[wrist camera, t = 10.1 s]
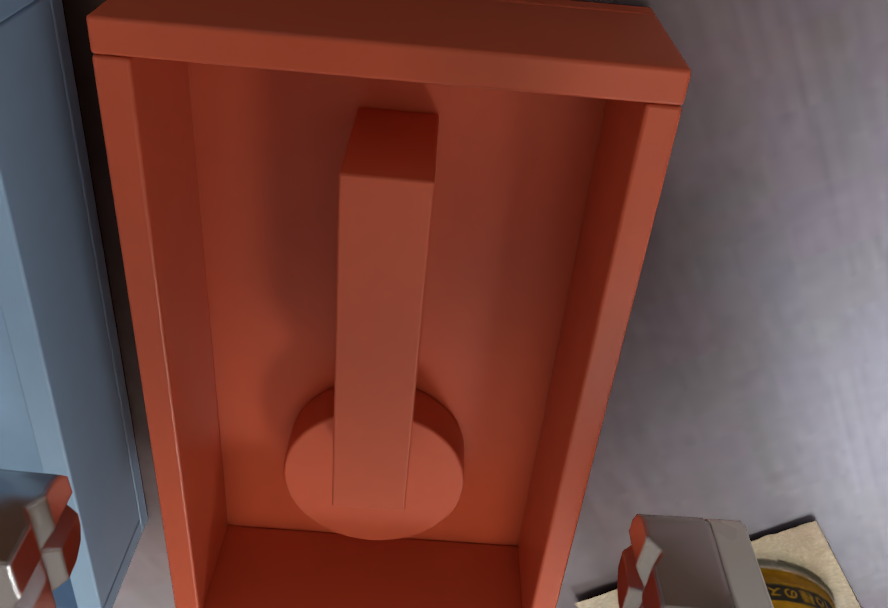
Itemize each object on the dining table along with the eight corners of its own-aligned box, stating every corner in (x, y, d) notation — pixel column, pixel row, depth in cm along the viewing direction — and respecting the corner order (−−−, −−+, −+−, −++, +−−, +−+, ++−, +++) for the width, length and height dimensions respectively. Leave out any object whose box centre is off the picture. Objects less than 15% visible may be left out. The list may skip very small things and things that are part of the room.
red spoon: (285, 99, 16) (253, 165, 14) (510, 120, 17) (519, 189, 14) (292, 499, 23) (271, 594, 20) (455, 512, 23) (454, 607, 20)
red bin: (154, -39, 16) (83, 15, 13) (651, 6, 16) (692, 70, 13) (212, 523, 24) (177, 632, 21) (534, 546, 24) (543, 657, 22)
